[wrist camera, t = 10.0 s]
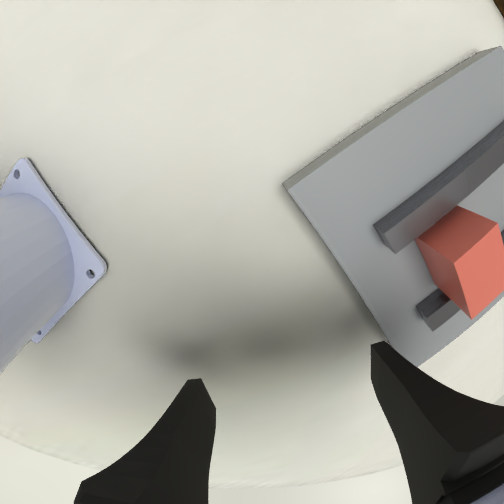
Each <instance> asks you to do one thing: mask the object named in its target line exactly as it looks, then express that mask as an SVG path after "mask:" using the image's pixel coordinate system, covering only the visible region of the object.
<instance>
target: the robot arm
mask: <svg viewBox="0 0 504 504" xmlns="http://www.w3.org/2000/svg"><path fill="white" fill-rule="evenodd" d="M18 171H19V172H20V176H19V175H18ZM90 270H92V271H93V272H94V274H95V276H94V275H92V274H91V273H90ZM106 271H107V266H106V263H105V261H104V260H103V259H102V257H101V256H100V255H99V254H98V253H97V252H96V250H95V249H94V248H93V247H92V245H91V244H90V243H89V242H88V241H87V239H86V238H85V237H84V236H83V234H82V233H81V232H80V230H79V229H78V228H77V227H76V225H75V224H74V223H73V221H72V220H71V219H70V218H69V216H68V215H67V214H66V212H65V211H64V210H63V208H62V207H61V206H60V204H59V203H58V201H57V200H56V199H55V197H54V196H53V194H52V193H51V192H50V190H49V189H48V187H47V186H46V185H45V183H44V182H43V180H42V179H41V177H40V176H39V174H38V173H37V171H36V170H35V168H34V167H33V165H32V164H31V162H30V161H29V159H28V158H21V159H19V160H18V161H17V163H16V164H15V166H14V167H13V169H12V171H11V172H10V174H9V176H8V178H7V179H6V181H5V183H4V185H3V186H2V188H1V190H0V374H1V373H2V372H3V370H4V369H5V368H6V367H7V366H8V365H9V363H10V362H11V361H12V360H13V359H14V358H15V356H16V355H17V354H18V353H19V352H20V351H21V350H22V349H23V347H24V346H25V345H26V344H27V343H28V342H29V341H30V340H32V341H33V342H34V343H39V342H40V341H41V340H42V338H43V337H44V336H45V335H46V334H47V333H48V332H49V331H50V330H51V328H52V327H53V326H54V325H55V324H56V323H57V322H58V321H59V320H60V319H61V318H62V317H63V316H64V314H65V313H66V312H67V311H68V310H69V309H70V308H71V307H72V306H73V305H74V304H75V303H76V302H77V301H78V300H79V299H80V298H81V297H82V296H83V295H84V294H85V293H86V292H87V291H88V290H89V289H90V288H91V287H92V286H93V285H94V284H95V283H96V282H97V281H98V280H99V279H100V278H101V277H102V276H103V275H104V274H105V272H106ZM371 380H372V384H373V387H374V390H375V393H376V396H377V399H378V401H379V403H380V405H381V407H382V410H383V412H384V414H385V416H386V418H387V420H388V423H389V425H390V427H391V429H392V431H393V433H394V436H395V438H396V441H397V443H398V446H399V450H400V453H401V457H402V460H403V464H404V467H405V471H406V475H407V479H408V484H409V488H410V493H411V498H412V504H504V406H499V405H494V404H490V403H487V402H483V401H480V400H477V399H474V398H471V397H469V396H466V395H464V394H461V393H459V392H457V391H455V390H453V389H451V388H449V387H447V386H445V385H443V384H441V383H440V382H438V381H436V380H435V379H433V378H432V377H430V376H429V375H427V374H426V373H424V372H423V371H421V370H420V369H419V368H417V367H416V366H415V365H413V364H412V363H411V362H409V361H408V360H407V359H406V358H404V357H403V356H402V355H401V354H400V353H398V352H397V351H396V350H395V349H394V348H393V347H391V346H390V345H389V344H388V343H387V342H385V341H382V342H379V343H375V344H372V345H371ZM215 429H216V408H215V406H214V404H213V402H212V400H211V398H210V396H209V394H208V392H207V390H206V388H205V386H204V383H203V381H202V379H201V378H200V379H191V380H187V382H186V383H185V385H184V386H183V387H182V389H181V390H180V392H179V393H178V395H177V396H176V398H175V399H174V400H173V402H172V403H171V405H170V406H169V407H168V409H167V410H166V412H165V413H164V414H163V416H162V417H161V418H160V419H159V421H158V422H157V423H156V424H155V426H154V427H153V428H152V429H151V430H150V431H149V433H148V434H147V435H146V436H145V437H144V438H143V439H142V440H141V441H140V442H139V443H138V444H137V445H136V446H135V447H133V448H132V449H131V450H130V451H129V452H127V453H126V454H125V455H124V456H123V457H121V458H120V459H119V460H117V461H116V462H115V463H113V464H112V465H110V466H109V467H107V468H106V469H104V470H102V471H101V472H99V473H97V474H95V475H93V476H91V477H89V478H87V479H86V480H84V481H82V482H81V484H80V487H79V490H78V492H77V495H76V497H75V500H74V504H208V480H209V468H210V462H211V456H212V449H213V443H214V436H215Z"/></svg>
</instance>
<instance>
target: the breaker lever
mask: <svg viewBox="0 0 504 504" xmlns="http://www.w3.org/2000/svg"><path fill="white" fill-rule="evenodd" d="M415 241H416V243H417V245H418V247H419V249H420V251H421V254H422V256H423V258H424V260H425V262H426V265H427V267H428V269H429V272H430V274H431V276H432V279H433V281H434V283H435V285H436V286H437V287H438V288H439V289H440V290H441V291H443V292H444V293H445V294H446V295H447V296H448V297H449V298H450V299H451V300H452V301H453V302H454V303H455V304H456V305H457V306H458V307H459V308H460V309H461V310H462V311H463V312H464V313H465V314H466V315H467V316H468V317H469V318H470V319H471V320H472V319H473V318H474V317H475V316H477V315H478V314H479V313H480V312H481V311H482V310H483V309H484V308H486V307H487V306H488V305H489V304H490V303H491V302H492V301H493V300H494V299H495V298H496V297H497V296H498V295H499V294H500V293H501V292H503V291H504V245H503V241H502V237H501V233H500V229H499V225H498V223H497V222H494V221H492V220H490V219H488V218H486V217H483V216H481V215H479V214H477V213H474V212H472V211H470V210H467V209H465V208H462V207H460V206H456V207H454V208H453V209H452V210H451V211H450V212H448V213H447V214H446V215H445V216H444V217H442V218H441V219H440V220H439V221H438V222H436V223H435V224H434V225H433V226H431V227H430V228H429V229H428V230H426V231H425V232H424V233H423V234H421V235H420V236H419V237H418V238H416V239H415Z"/></svg>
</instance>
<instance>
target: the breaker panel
mask: <svg viewBox="0 0 504 504" xmlns="http://www.w3.org/2000/svg"><path fill="white" fill-rule="evenodd" d="M282 184H283V185H284V187H285V188H286V190H287V191H288V192H289V194H290V195H291V196H292V198H293V199H294V200H295V202H296V203H297V205H298V206H299V207H300V209H301V210H302V211H303V213H304V214H305V216H306V217H307V218H308V220H309V221H310V222H311V224H312V225H313V227H314V228H315V230H316V231H317V232H318V234H319V235H320V237H321V238H322V239H323V241H324V242H325V244H326V245H327V247H328V248H329V250H330V251H331V252H332V254H333V255H334V257H335V258H336V260H337V261H338V263H339V264H340V266H341V267H342V269H343V270H344V272H345V273H346V275H347V276H348V278H349V279H350V281H351V282H352V284H353V285H354V287H355V288H356V290H357V291H358V293H359V294H360V296H361V298H362V299H363V301H364V302H365V304H366V305H367V307H368V308H369V310H370V312H371V313H372V315H373V316H374V318H375V320H376V321H377V323H378V324H379V326H380V328H381V329H382V331H383V333H384V334H385V336H386V337H387V339H388V341H389V342H390V344H391V346H392V347H393V348H394V349H395V350H396V351H397V352H398V353H400V354H401V355H402V356H403V357H404V358H406V359H407V360H408V361H409V362H411V363H412V364H413V365H415V366H416V367H418V366H419V365H421V364H422V363H424V362H425V361H427V360H428V359H429V358H431V357H432V356H433V355H435V354H436V353H437V352H439V351H440V350H442V349H443V348H444V347H445V346H447V345H448V344H449V343H451V342H452V341H453V340H454V339H456V338H457V337H458V336H459V335H461V334H462V333H463V332H464V331H466V330H467V329H468V328H469V327H470V326H471V325H473V324H474V323H475V322H476V321H477V320H478V319H480V318H481V317H482V316H483V315H484V314H485V313H486V312H487V311H489V310H490V309H491V308H492V307H493V306H494V305H495V304H496V303H497V302H498V301H499V300H500V299H501V298H502V297H503V296H504V291H503V292H501V293H500V294H499V295H498V296H497V297H496V298H495V299H494V300H493V301H492V302H491V303H490V304H489V305H488V306H487V307H486V308H484V309H483V310H482V311H481V312H480V313H479V314H478V315H477V316H475V317H474V318H473V319H472V320H471V319H470V318H469V317H468V316H467V315H466V314H465V313H464V312H463V311H462V310H461V309H460V308H459V307H458V306H457V305H456V304H455V303H454V302H453V301H452V300H451V299H450V298H449V297H448V296H447V295H446V294H445V293H444V292H443V291H441V290H440V289H439V288H438V287H437V286H436V285H435V283H434V281H433V279H432V276H431V274H430V272H429V269H428V267H427V265H426V262H425V260H424V258H423V256H422V254H421V251H420V249H419V247H418V245H417V243H416V241H415V239H416V238H418V237H419V236H420V235H421V234H423V233H424V232H425V231H426V230H428V229H429V228H430V227H431V226H433V225H434V224H435V223H436V222H438V221H439V220H440V219H441V218H442V217H444V216H445V215H446V214H447V213H448V212H450V211H451V210H452V209H453V208H454V207H456V206H460V207H462V208H465V209H467V210H470V211H472V212H474V213H477V214H479V215H481V216H483V217H486V218H488V219H490V220H492V221H494V222H497V223H498V225H499V229H500V233H501V237H502V241H503V245H504V50H503V48H502V47H501V46H499V47H495V48H491V49H487V50H484V51H480V52H478V53H476V54H475V55H473V56H471V57H470V58H468V59H466V60H465V61H463V62H461V63H460V64H458V65H457V66H455V67H453V68H452V69H450V70H448V71H447V72H445V73H444V74H442V75H440V76H439V77H437V78H436V79H434V80H433V81H431V82H429V83H428V84H426V85H425V86H423V87H422V88H420V89H419V90H417V91H415V92H414V93H412V94H411V95H409V96H408V97H406V98H405V99H403V100H402V101H400V102H399V103H397V104H396V105H394V106H393V107H391V108H390V109H388V110H387V111H385V112H384V113H382V114H381V115H379V116H378V117H376V118H375V119H373V120H372V121H370V122H369V123H367V124H366V125H364V126H363V127H361V128H360V129H359V130H357V131H356V132H354V133H353V134H351V135H350V136H348V137H347V138H345V139H344V140H343V141H341V142H340V143H338V144H337V145H335V146H334V147H333V148H331V149H330V150H328V151H327V152H325V153H324V154H323V155H321V156H320V157H318V158H317V159H316V160H314V161H313V162H311V163H310V164H309V165H307V166H306V167H304V168H303V169H302V170H300V171H299V172H297V173H296V174H295V175H293V176H292V177H291V178H289V179H288V180H286V181H285V182H284V183H282Z"/></svg>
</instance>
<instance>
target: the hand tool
mask: <svg viewBox="0 0 504 504" xmlns="http://www.w3.org/2000/svg"><path fill="white" fill-rule="evenodd" d="M494 2H495V4H496V5H497V7H498V9H499V10H500V12H501V14H502V15H503V17H504V0H494Z"/></svg>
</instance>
